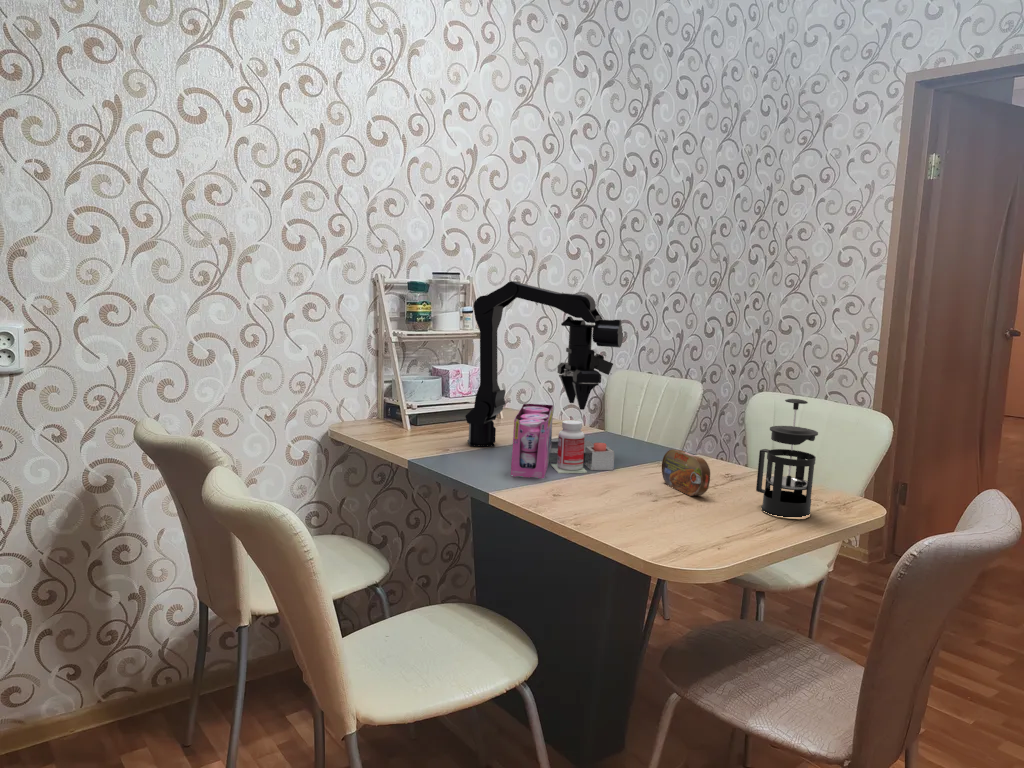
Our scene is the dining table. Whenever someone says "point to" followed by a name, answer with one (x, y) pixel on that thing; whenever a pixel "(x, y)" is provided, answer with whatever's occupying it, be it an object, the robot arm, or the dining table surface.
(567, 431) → the pill bottle
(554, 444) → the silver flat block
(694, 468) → the tin
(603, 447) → the button
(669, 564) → the dining table surface
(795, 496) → the french press
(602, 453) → the housing
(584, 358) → the robot arm
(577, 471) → the pad
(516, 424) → the gum box
